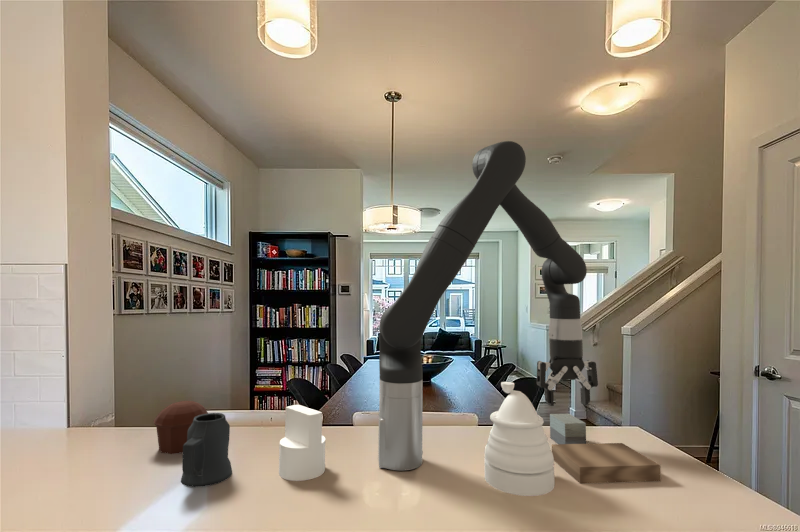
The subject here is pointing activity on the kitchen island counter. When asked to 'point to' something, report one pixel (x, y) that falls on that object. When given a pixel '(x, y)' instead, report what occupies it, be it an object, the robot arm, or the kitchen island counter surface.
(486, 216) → the robot arm
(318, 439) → the base with upright slab
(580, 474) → the walnut stand
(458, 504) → the kitchen island counter surface
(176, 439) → the muffin
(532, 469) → the honey pot
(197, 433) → the mug
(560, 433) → the block
